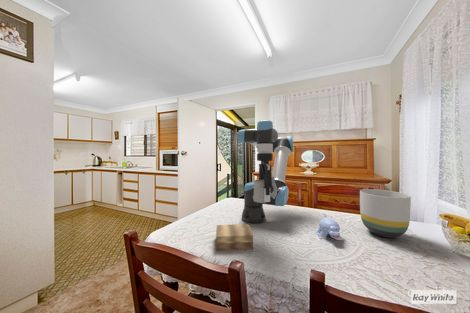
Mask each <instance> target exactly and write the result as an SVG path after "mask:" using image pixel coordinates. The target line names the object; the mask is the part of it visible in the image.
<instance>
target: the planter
mask: <svg viewBox="0 0 470 313" xmlns="http://www.w3.org/2000/svg"><path fill="white" fill-rule="evenodd" d="M411 201H412V196H411V195H409V194H407V193H404V192H399V191H393V190H385V189H372V188H366V189H364V188H363V189H360V190H359V210H360V211H359V213H360V219H361V222H362V224H363V225H364V227H366V229H367V230H369V231H370V232H372V233H373V234H374V235H378V236H379V237H383V238H391V239H392V238H398V237H400V236H403V235H404V234H405V233H407V231H408V229H409V226H410V221H411V206H412V204H411V203H412V202H411Z"/></svg>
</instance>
